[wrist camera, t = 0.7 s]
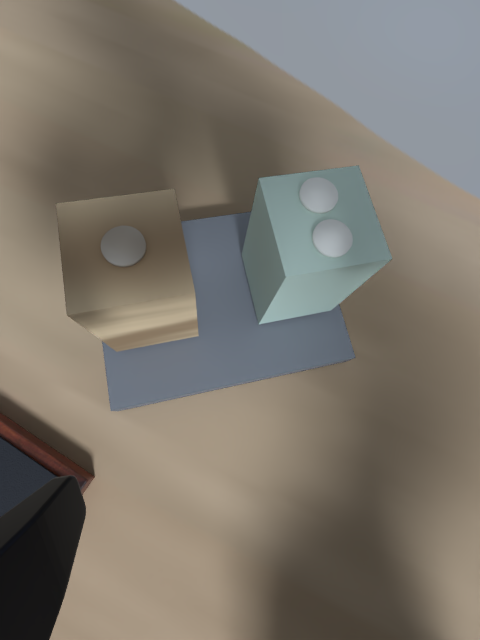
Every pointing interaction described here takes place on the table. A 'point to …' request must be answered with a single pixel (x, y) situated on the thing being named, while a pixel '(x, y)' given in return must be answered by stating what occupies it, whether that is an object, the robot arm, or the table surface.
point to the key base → (223, 331)
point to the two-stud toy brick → (310, 242)
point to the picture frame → (30, 465)
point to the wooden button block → (127, 269)
